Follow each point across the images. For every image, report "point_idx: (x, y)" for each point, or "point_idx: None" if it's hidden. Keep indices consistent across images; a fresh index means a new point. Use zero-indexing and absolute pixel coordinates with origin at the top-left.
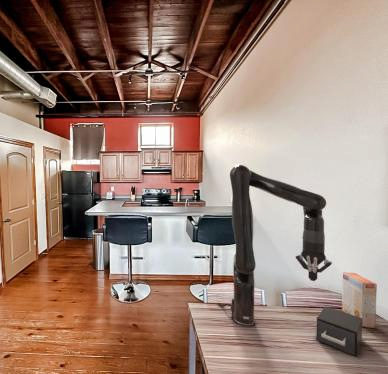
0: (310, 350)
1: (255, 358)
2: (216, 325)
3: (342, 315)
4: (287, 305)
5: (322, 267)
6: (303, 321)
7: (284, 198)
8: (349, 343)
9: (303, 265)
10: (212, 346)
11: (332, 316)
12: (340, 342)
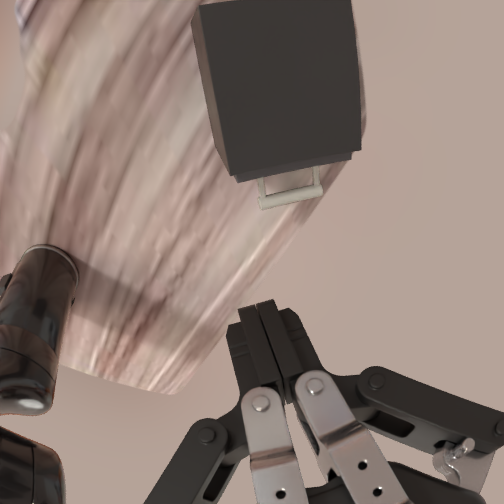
0: (230, 216)
1: (185, 342)
2: (63, 339)
3: (292, 40)
4: (24, 17)
5: (403, 439)
6: (123, 65)
7: None
8: None
9: (215, 476)
10: (128, 376)
11: (268, 94)
12: (312, 197)
